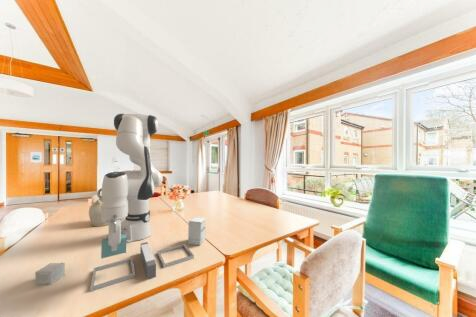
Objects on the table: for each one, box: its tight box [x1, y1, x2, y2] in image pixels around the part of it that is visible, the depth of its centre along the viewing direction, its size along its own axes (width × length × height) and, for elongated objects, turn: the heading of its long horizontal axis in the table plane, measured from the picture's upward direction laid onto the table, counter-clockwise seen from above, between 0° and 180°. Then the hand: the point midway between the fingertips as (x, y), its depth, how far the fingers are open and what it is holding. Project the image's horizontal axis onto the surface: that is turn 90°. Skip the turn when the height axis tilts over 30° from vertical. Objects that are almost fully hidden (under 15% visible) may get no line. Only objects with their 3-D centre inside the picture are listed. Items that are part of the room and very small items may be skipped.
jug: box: [88, 187, 109, 227], centre depth 124 cm, size 15×16×25 cm
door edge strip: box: [139, 241, 157, 280], centre depth 78 cm, size 22×3×5 cm, turn 35°
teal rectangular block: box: [100, 234, 127, 259], centre depth 71 cm, size 8×4×6 cm, turn 125°
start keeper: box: [156, 243, 195, 268], centre depth 85 cm, size 14×14×1 cm
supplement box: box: [187, 216, 207, 246], centre depth 99 cm, size 7×7×13 cm
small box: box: [34, 262, 66, 286], centre depth 67 cm, size 6×6×5 cm
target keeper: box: [89, 257, 136, 292], centre depth 71 cm, size 14×14×1 cm
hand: (114, 247), depth 71 cm, fingers closed on teal rectangular block, 4 cm apart
